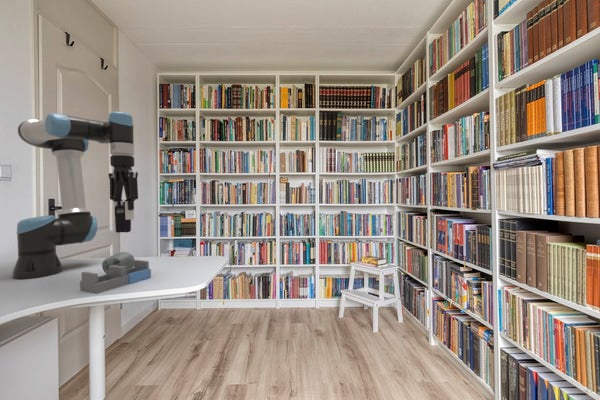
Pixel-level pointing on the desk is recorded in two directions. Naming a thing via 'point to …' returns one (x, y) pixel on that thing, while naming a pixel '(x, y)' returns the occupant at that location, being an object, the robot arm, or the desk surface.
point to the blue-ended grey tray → (115, 277)
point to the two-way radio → (121, 217)
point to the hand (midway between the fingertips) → (124, 219)
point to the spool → (118, 261)
